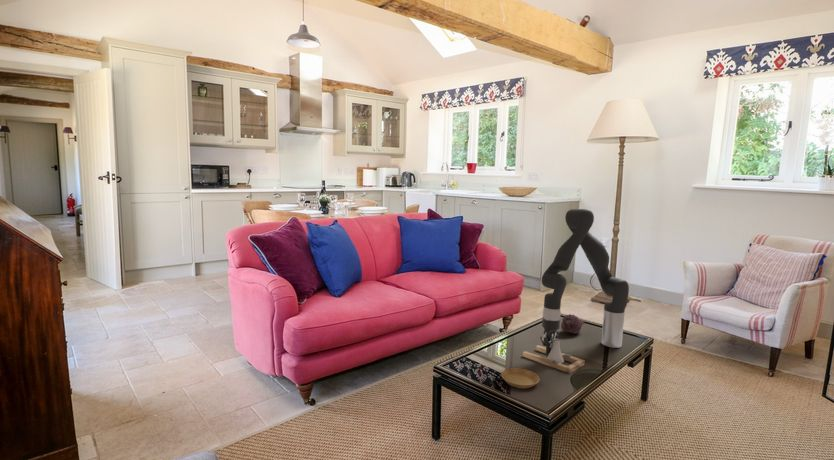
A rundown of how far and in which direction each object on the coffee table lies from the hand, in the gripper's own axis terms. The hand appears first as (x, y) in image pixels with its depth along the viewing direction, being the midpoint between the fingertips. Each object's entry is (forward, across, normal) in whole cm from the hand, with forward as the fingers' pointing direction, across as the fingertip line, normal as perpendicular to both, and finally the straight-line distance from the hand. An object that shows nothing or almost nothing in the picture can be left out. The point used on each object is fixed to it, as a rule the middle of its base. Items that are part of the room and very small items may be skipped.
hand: (548, 354), depth 200 cm
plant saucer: (+3, +29, +4) cm, 29 cm away
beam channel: (+2, 0, +1) cm, 2 cm away
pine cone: (+2, -39, -10) cm, 40 cm away
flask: (+2, 0, +3) cm, 4 cm away
